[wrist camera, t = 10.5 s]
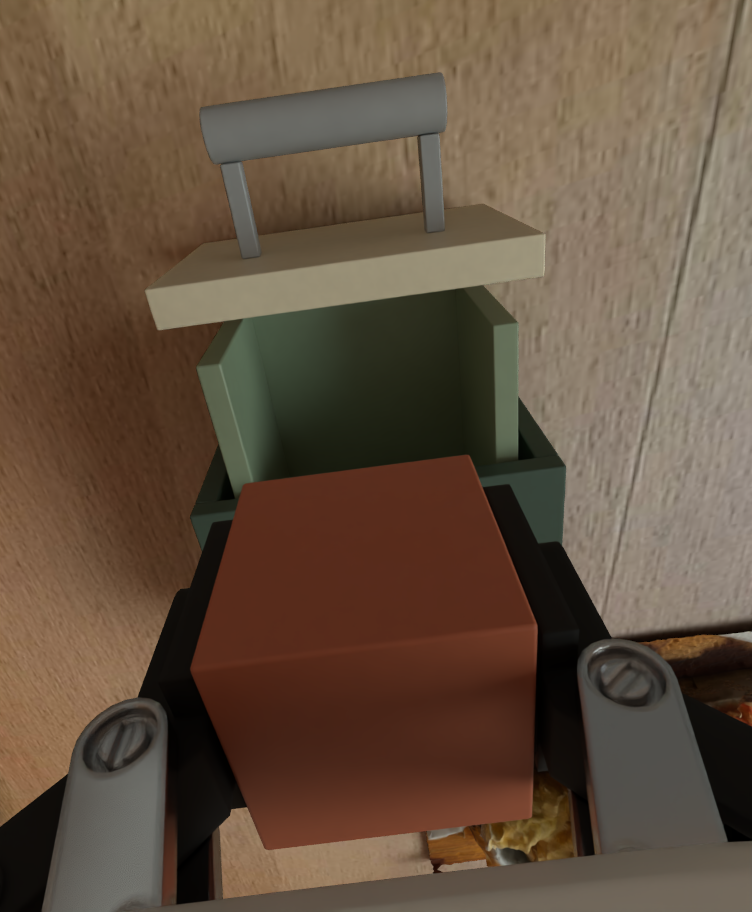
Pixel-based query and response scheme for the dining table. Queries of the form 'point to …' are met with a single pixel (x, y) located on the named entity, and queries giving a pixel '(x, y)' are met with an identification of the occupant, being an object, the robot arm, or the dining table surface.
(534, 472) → the cabinet
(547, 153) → the dining table surface
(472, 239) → the drawer
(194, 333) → the dining table surface
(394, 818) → the block
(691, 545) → the dining table surface
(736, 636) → the food tray
